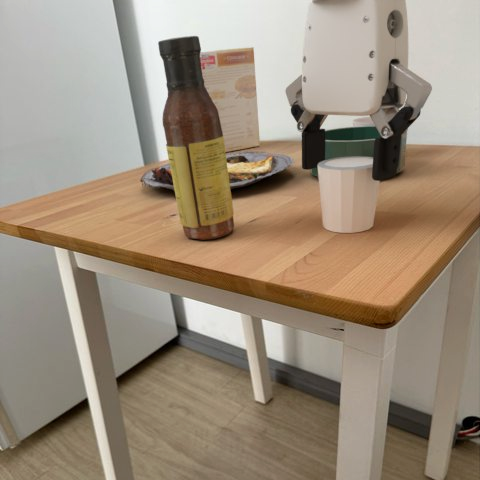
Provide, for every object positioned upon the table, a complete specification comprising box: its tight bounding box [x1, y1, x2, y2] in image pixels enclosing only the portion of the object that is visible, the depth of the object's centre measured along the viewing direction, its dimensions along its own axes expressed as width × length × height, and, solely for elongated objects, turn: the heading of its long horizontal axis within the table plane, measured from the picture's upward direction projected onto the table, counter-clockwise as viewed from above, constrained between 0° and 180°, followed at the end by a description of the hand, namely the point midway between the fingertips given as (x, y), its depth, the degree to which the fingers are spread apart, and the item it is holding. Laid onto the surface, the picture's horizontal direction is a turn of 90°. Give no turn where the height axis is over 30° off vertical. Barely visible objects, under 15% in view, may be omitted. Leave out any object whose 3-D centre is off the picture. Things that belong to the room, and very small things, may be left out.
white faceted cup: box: [317, 156, 381, 234], centre depth 52 cm, size 7×7×7 cm
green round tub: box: [309, 126, 408, 177], centre depth 75 cm, size 15×15×6 cm
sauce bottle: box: [157, 35, 235, 241], centre depth 51 cm, size 7×6×20 cm
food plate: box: [139, 151, 295, 192], centre depth 78 cm, size 25×23×4 cm
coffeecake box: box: [200, 46, 261, 153], centre depth 101 cm, size 15×7×20 cm, turn 120°
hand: (346, 172), depth 51 cm, fingers open, 9 cm apart
